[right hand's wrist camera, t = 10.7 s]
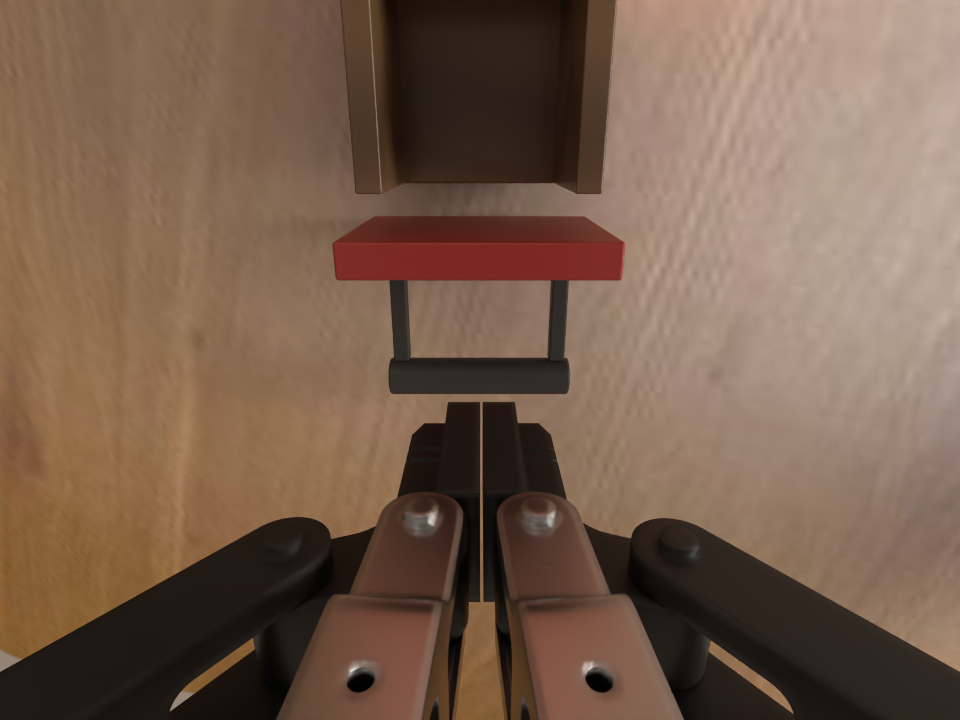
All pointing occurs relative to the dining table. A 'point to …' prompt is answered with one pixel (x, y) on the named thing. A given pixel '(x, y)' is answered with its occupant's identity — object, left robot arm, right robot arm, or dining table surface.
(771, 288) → the dining table surface
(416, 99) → the drawer
